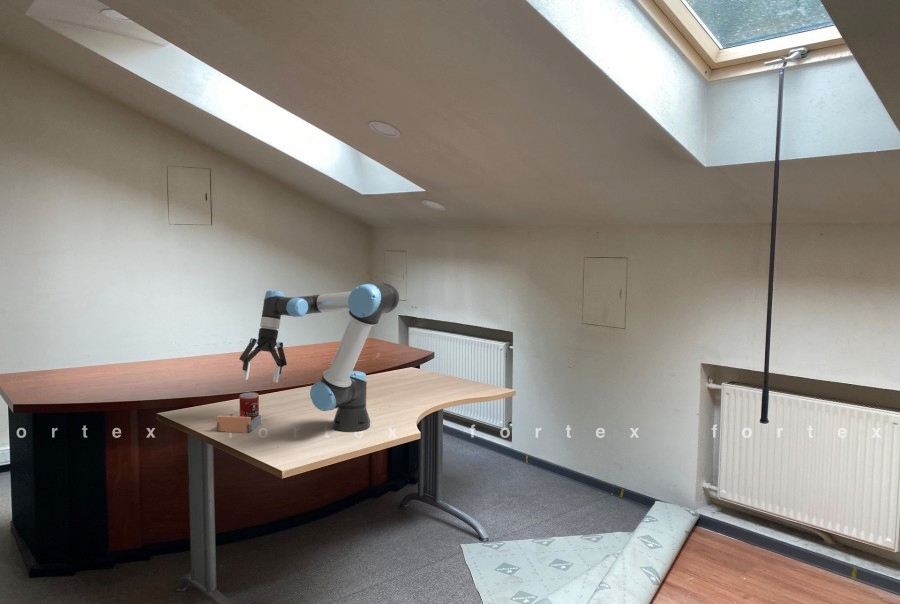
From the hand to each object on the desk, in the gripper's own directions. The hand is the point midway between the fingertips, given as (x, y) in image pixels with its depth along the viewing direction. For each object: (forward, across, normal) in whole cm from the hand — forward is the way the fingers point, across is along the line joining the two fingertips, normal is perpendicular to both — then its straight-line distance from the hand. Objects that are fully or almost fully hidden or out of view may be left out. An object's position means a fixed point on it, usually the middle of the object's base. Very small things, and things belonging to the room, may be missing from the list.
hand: (260, 380), depth 248 cm
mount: (+20, +2, -6) cm, 21 cm away
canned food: (+18, -6, -13) cm, 23 cm away
